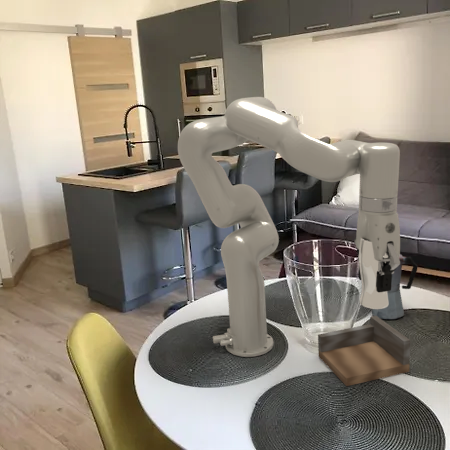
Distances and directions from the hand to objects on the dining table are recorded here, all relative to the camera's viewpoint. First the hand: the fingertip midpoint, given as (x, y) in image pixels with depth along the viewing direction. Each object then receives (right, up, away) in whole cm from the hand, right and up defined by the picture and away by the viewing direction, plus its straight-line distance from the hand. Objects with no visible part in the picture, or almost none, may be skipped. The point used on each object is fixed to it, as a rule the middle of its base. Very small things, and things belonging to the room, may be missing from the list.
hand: (374, 284), depth 110 cm
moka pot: (+15, -13, +37) cm, 42 cm away
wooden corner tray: (+1, -20, +12) cm, 24 cm away
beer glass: (0, -5, +1) cm, 5 cm away
